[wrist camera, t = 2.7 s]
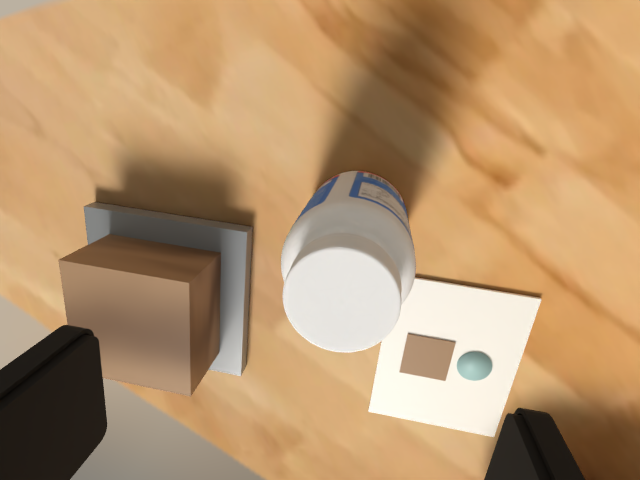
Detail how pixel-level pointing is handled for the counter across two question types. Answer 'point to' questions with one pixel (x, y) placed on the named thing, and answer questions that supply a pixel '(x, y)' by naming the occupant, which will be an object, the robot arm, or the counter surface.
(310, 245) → the pill bottle
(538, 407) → the counter surface
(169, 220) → the baseplate
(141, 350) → the brown square block
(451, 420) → the page
